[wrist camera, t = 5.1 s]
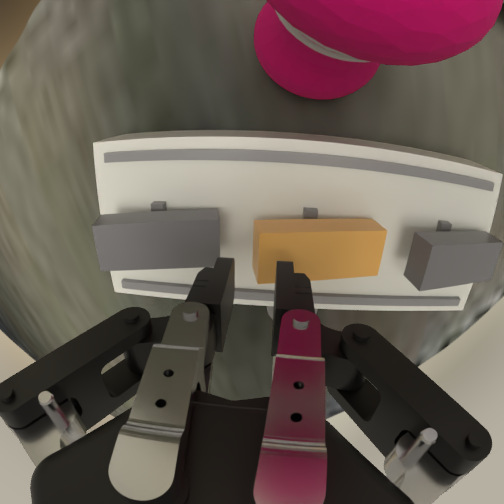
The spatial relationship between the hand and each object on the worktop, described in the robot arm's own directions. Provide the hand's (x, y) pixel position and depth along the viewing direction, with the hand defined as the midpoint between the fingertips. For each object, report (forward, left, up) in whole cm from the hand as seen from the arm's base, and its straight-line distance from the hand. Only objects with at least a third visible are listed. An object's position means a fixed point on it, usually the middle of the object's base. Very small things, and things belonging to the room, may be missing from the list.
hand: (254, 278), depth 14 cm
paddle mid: (-3, 0, -4) cm, 5 cm away
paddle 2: (-12, 0, -4) cm, 13 cm away
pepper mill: (-3, -12, -11) cm, 16 cm away
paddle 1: (+6, 0, -4) cm, 7 cm away
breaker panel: (-3, 0, -11) cm, 11 cm away
